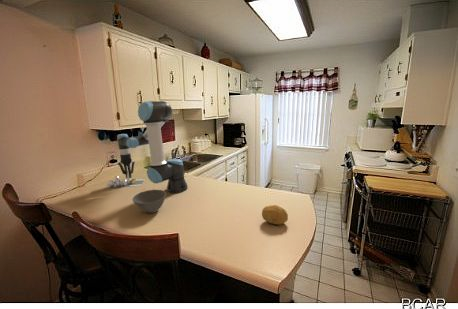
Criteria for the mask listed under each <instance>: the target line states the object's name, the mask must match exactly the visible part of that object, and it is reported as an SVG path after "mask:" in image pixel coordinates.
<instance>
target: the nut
mask: <svg viewBox="0 0 458 309" xmlns="http://www.w3.org/2000/svg"><path fill="white" fill-rule="evenodd" d="M136 180H137V178H132V179H131V180H130V184H136Z"/></svg>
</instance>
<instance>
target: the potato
mask: <svg viewBox="0 0 458 309" xmlns="http://www.w3.org/2000/svg"><path fill="white" fill-rule="evenodd" d="M261 216H262V219H263V220H264V221H266V222H268V223H269V224H272V225H279V226H281V225H284V224H285V223H287V221H288V220H289V217H288V216H289V215H288V213H287V210H286V209H284V208H283V207H281V206H280V205H277V204H274V205H272V204H271V205H268V206H265V207H264V208H262V211H261Z"/></svg>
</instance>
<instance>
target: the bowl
mask: <svg viewBox="0 0 458 309" xmlns="http://www.w3.org/2000/svg"><path fill="white" fill-rule="evenodd" d="M166 195H167V193H166V191H165V190H162V189H149V190H143V191H141V192H139V193H137V194H135V195H134V196H133V197H132V202H133V203H134V205H135V206H136V207H137V208H138V209H139V210H140V211H142V212H143V213H146V214H152V213H155V212H157V211H159V210H160V209H161V208H162V206H163V204H164V202H165V198H166Z"/></svg>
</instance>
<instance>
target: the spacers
mask: <svg viewBox="0 0 458 309" xmlns="http://www.w3.org/2000/svg"><path fill="white" fill-rule="evenodd" d="M131 179H133V178H132V177H131ZM114 181H115V182H116V185H117V188H121V187H120V186H121V183H120V181H123V186H124V187H123V188H126V186H127V181H128V179H127V178H125V179H122V180H120V177H119V175H115V176H114V180H112V179H111V180H108V185H109V184H110V188H109V189H113V188H112V187H114Z"/></svg>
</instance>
